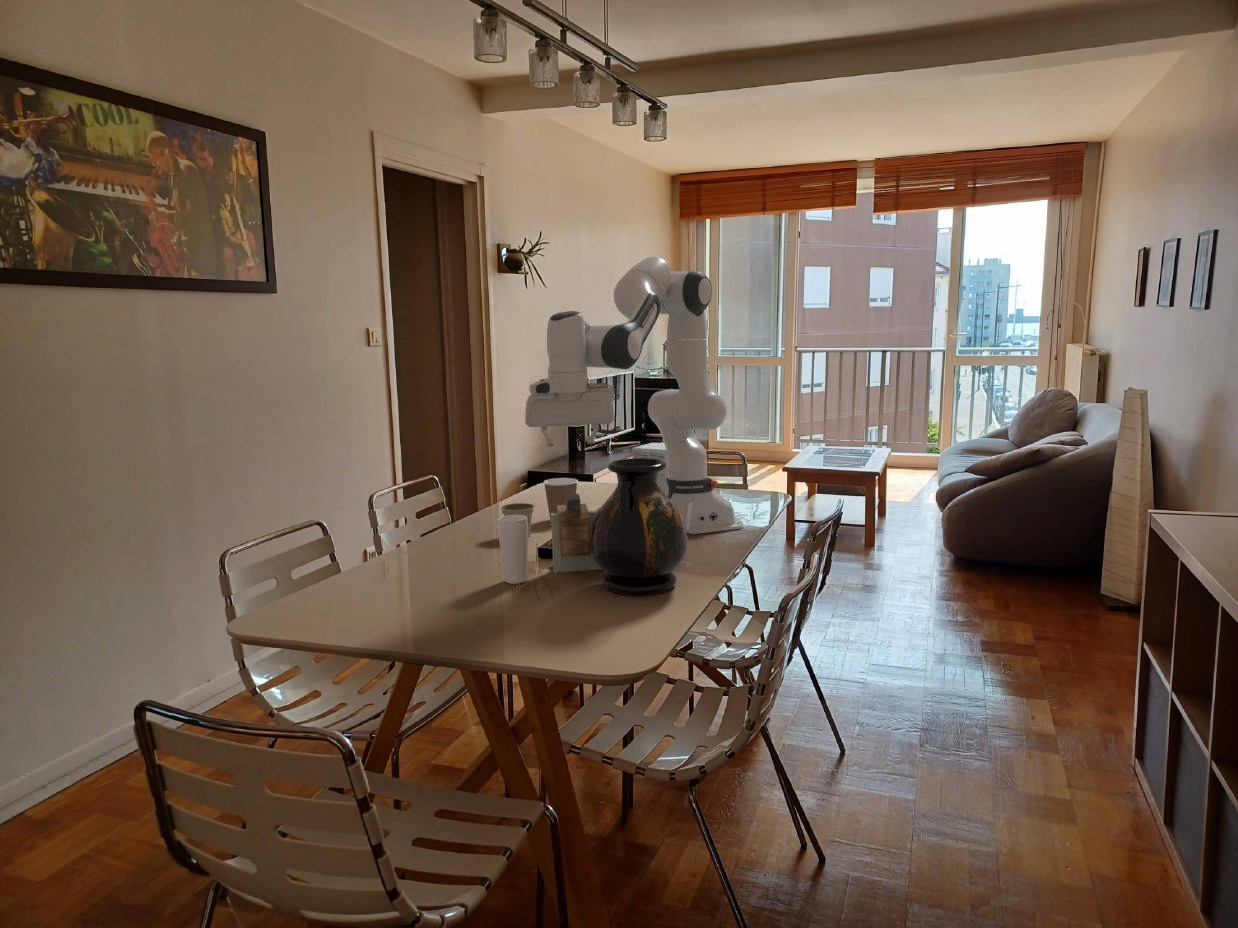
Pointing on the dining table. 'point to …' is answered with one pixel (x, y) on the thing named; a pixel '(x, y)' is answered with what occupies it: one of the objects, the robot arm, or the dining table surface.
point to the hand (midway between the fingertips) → (570, 444)
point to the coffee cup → (559, 492)
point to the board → (571, 561)
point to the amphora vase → (638, 531)
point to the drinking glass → (514, 547)
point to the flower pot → (519, 511)
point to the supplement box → (657, 453)
